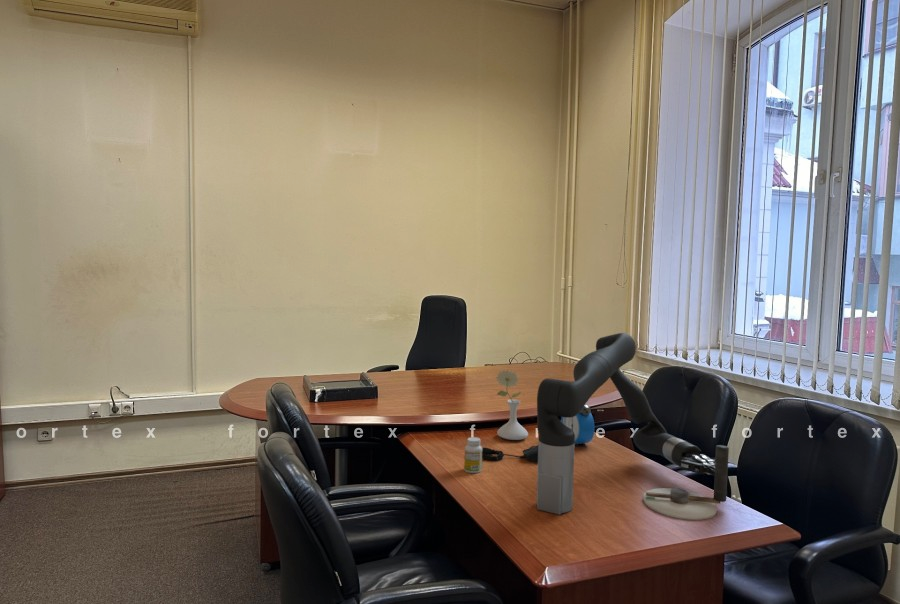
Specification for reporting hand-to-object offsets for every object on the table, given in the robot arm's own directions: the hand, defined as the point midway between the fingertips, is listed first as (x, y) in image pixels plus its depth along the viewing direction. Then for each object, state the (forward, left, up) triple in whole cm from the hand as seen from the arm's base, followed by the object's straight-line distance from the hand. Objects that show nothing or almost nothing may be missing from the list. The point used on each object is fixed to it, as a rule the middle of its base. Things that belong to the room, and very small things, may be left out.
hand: (722, 475), depth 148 cm
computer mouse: (+7, +61, -9) cm, 62 cm away
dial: (-5, +8, -7) cm, 12 cm away
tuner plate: (-5, +10, -8) cm, 14 cm away
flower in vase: (+26, +72, -9) cm, 77 cm away
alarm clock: (+33, +49, -9) cm, 60 cm away
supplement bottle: (-12, +68, -9) cm, 69 cm away
